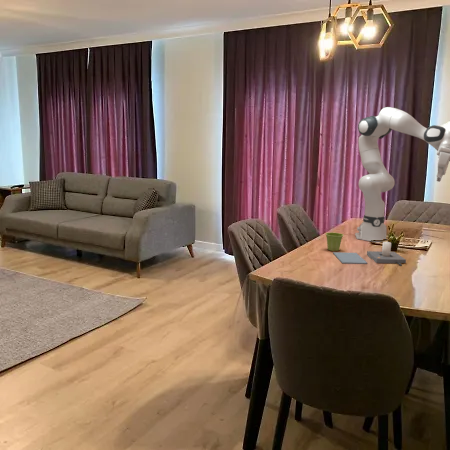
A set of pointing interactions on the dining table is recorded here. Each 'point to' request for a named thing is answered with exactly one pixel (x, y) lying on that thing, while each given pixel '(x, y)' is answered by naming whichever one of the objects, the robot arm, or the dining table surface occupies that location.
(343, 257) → the rubber mat
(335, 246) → the plant pot
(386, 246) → the white rounded cylinder
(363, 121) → the robot arm
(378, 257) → the grey square frame
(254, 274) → the dining table surface
